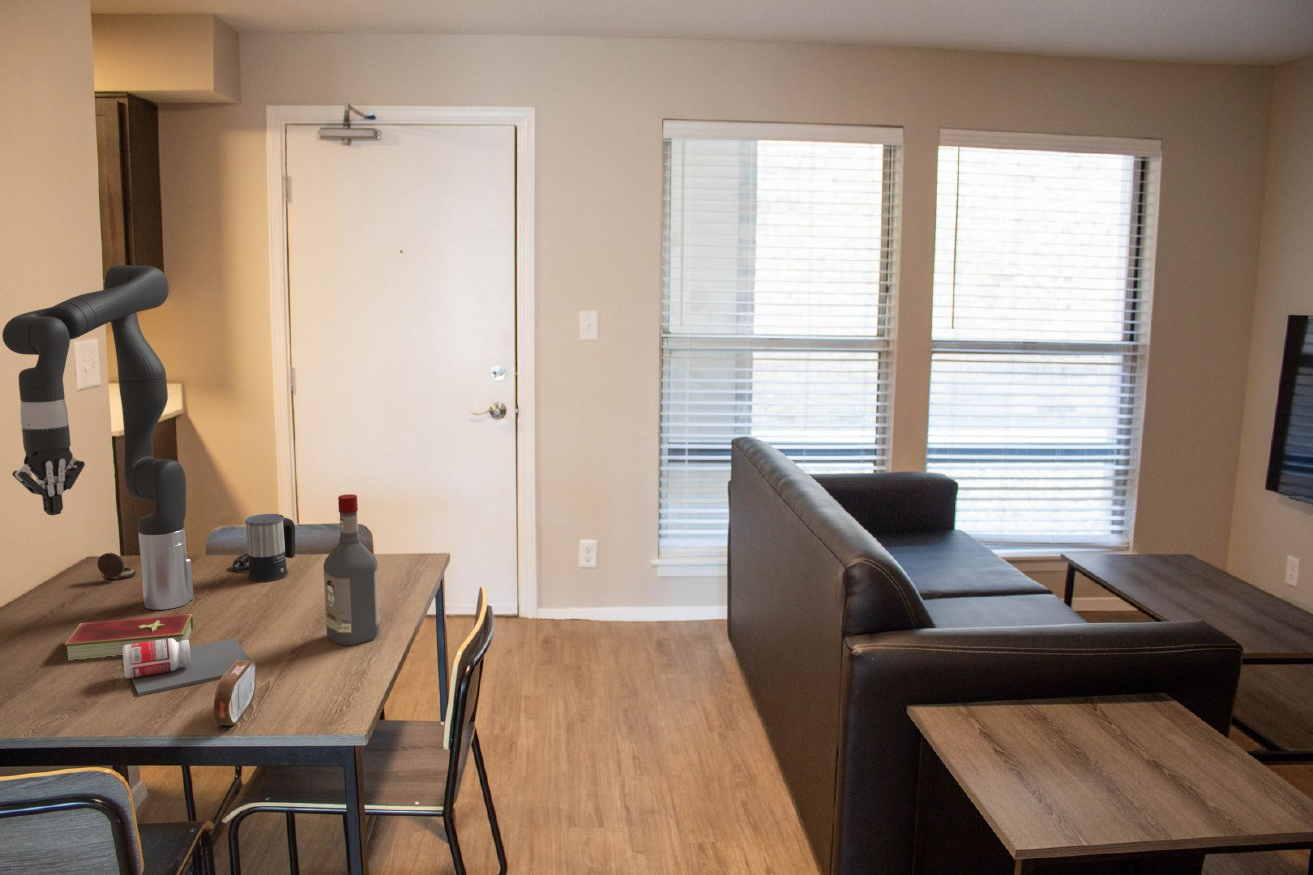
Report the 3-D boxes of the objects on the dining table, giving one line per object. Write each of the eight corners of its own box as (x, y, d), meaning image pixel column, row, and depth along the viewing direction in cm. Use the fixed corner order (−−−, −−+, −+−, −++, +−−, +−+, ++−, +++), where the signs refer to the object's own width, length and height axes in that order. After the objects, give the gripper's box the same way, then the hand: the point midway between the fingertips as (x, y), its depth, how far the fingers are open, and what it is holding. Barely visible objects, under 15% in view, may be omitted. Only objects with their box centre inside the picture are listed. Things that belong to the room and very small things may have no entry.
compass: (140, 572, 244) (138, 544, 243) (122, 582, 236) (120, 553, 235) (109, 571, 244) (106, 543, 243) (90, 582, 237) (87, 552, 235)
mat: (138, 695, 176) (138, 692, 176) (125, 661, 191) (125, 658, 190) (256, 671, 187) (255, 668, 187) (235, 640, 202) (235, 637, 202)
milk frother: (278, 583, 238) (274, 523, 235) (214, 581, 238) (210, 521, 236) (301, 565, 252) (298, 508, 249) (241, 563, 252) (237, 507, 250)
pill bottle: (125, 672, 185) (190, 662, 190) (124, 683, 179) (191, 672, 184) (122, 640, 184) (188, 631, 189) (122, 650, 178) (189, 640, 184)
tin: (242, 695, 177) (239, 651, 176) (260, 694, 177) (258, 650, 176) (212, 735, 162) (209, 687, 161) (232, 734, 162) (229, 686, 161)
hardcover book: (82, 640, 202) (80, 621, 201) (193, 631, 208) (192, 612, 207) (65, 663, 191) (63, 643, 190) (184, 652, 197) (182, 632, 196)
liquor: (363, 625, 211) (357, 489, 206) (384, 637, 205) (379, 496, 199) (322, 636, 205) (315, 495, 199) (343, 648, 198) (337, 504, 193)
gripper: (22, 431, 176) (31, 524, 179) (91, 420, 188) (99, 508, 191) (-4, 427, 179) (6, 519, 182) (66, 417, 191) (74, 504, 194)
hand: (54, 514), depth 187 cm, fingers closed
